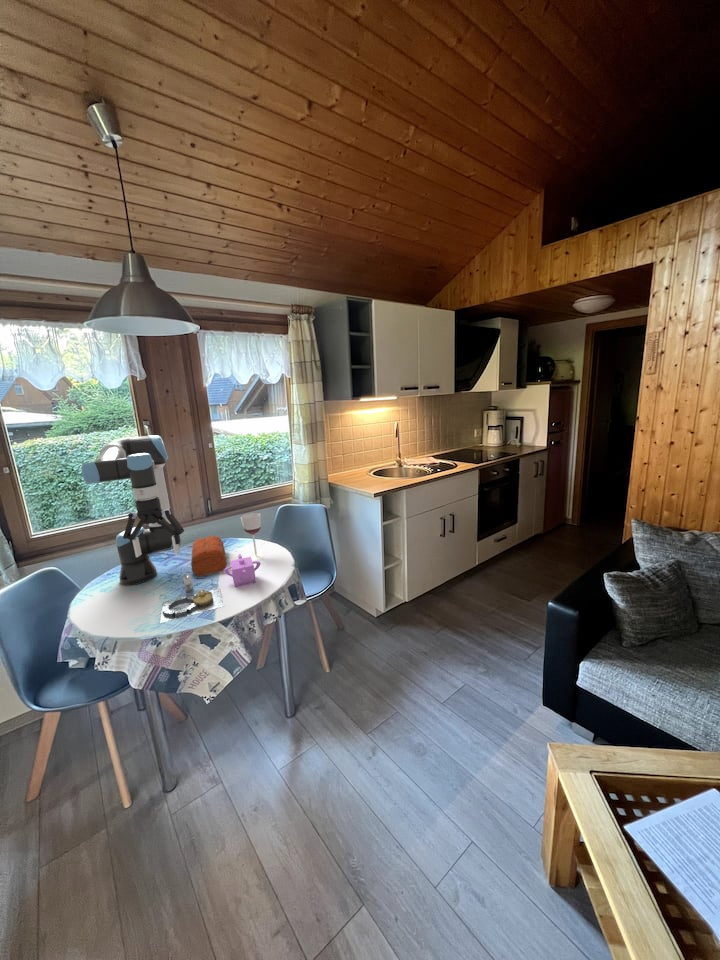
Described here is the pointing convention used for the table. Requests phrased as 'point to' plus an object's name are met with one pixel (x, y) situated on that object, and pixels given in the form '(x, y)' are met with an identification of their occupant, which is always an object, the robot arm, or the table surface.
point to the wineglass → (252, 530)
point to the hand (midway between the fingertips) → (158, 554)
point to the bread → (208, 556)
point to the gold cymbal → (203, 598)
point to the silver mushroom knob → (188, 584)
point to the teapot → (243, 571)
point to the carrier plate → (188, 606)
